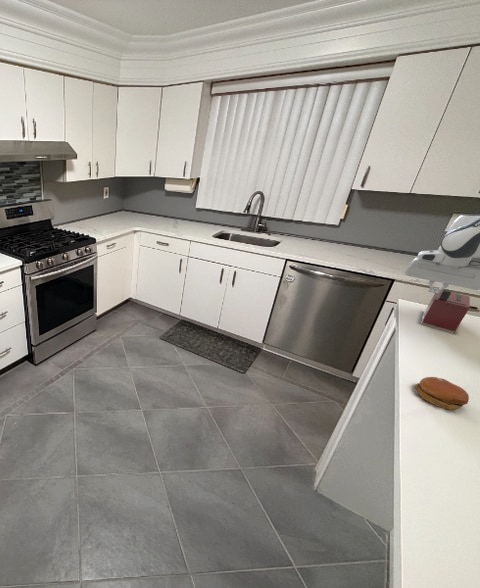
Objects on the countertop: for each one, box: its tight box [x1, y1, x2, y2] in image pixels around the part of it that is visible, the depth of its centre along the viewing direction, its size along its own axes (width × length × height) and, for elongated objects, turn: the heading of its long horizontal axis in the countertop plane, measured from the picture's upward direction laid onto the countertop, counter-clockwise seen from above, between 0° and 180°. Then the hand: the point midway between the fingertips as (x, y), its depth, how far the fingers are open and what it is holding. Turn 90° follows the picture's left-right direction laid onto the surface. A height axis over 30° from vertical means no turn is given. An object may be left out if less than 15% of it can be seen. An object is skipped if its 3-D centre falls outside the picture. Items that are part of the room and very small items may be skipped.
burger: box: [415, 376, 470, 411], centre depth 84 cm, size 10×9×5 cm
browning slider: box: [439, 289, 452, 300], centre depth 117 cm, size 2×2×3 cm
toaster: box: [420, 289, 471, 334], centre depth 122 cm, size 15×9×11 cm, turn 131°
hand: (433, 292), depth 119 cm, fingers closed
